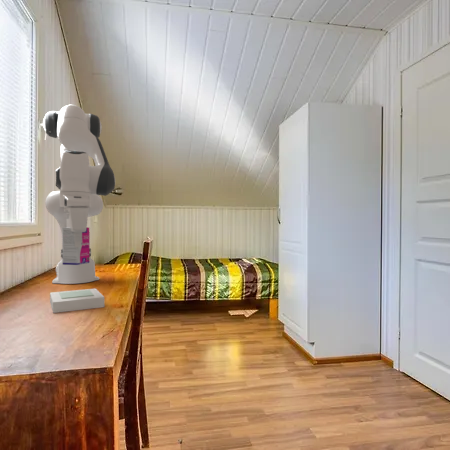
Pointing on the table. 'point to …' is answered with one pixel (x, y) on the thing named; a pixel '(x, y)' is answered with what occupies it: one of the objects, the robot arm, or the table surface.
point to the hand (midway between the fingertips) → (75, 246)
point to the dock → (76, 300)
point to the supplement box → (71, 252)
